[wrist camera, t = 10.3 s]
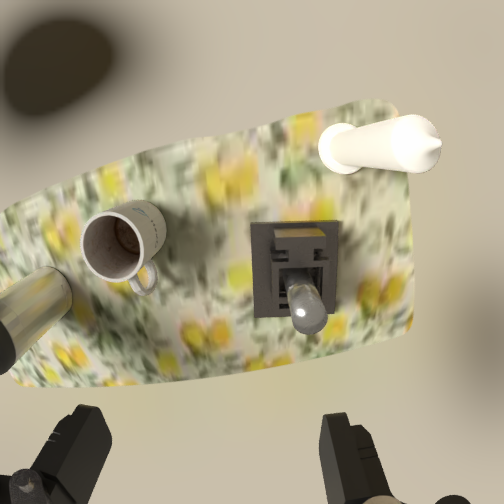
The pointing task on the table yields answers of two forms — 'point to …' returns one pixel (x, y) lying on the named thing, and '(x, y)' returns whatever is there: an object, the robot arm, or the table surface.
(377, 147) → the candle
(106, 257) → the mug
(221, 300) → the table surface
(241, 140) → the table surface
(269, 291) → the bracket
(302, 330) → the tube
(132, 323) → the table surface
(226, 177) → the table surface
